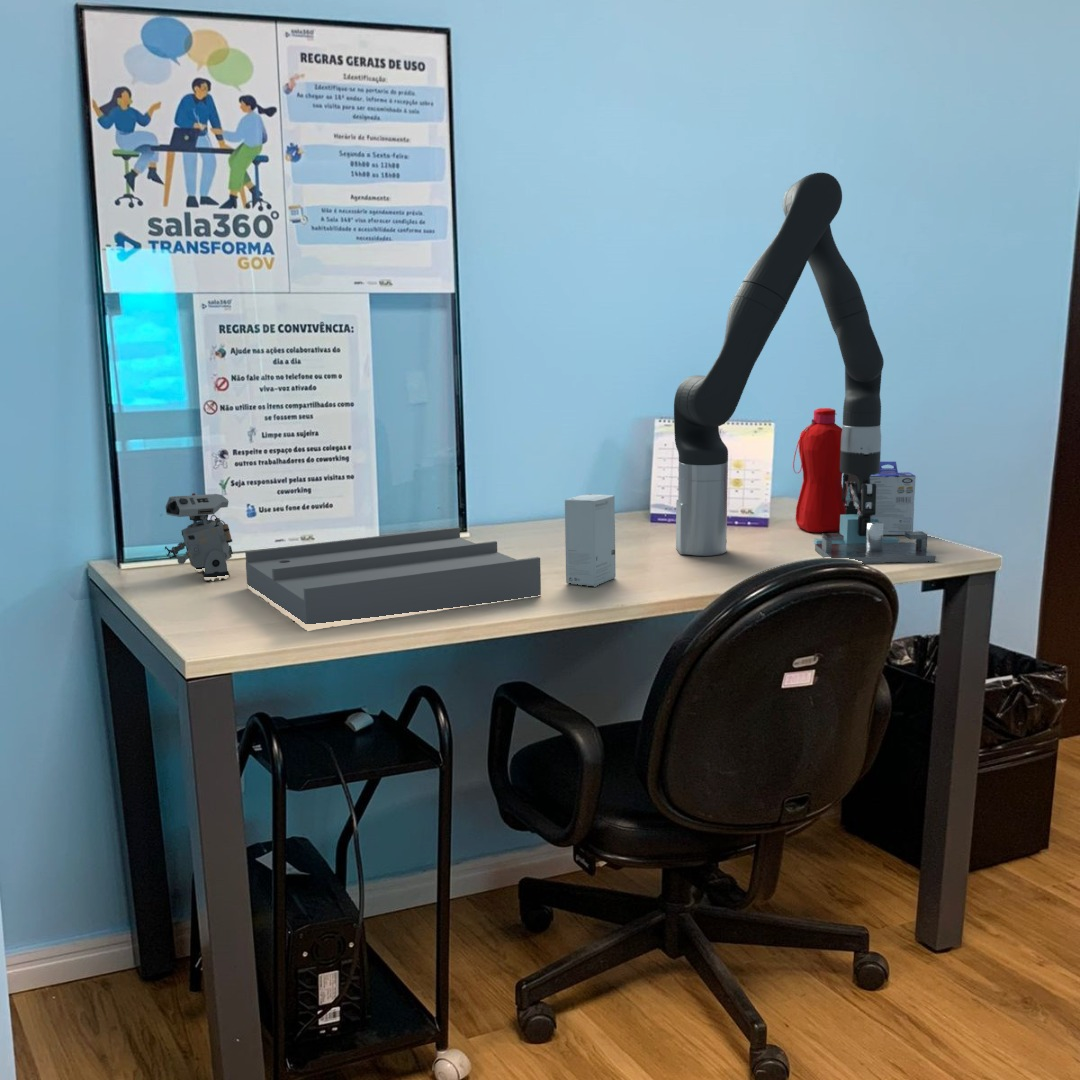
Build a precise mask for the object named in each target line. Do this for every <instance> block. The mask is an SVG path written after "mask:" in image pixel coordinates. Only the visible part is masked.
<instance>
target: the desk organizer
mask: <svg viewBox="0 0 1080 1080" xmlns="http://www.w3.org/2000/svg"><path fill="white" fill-rule="evenodd" d="M245 570H246V571H245V572H246V585H247V584H248V585H249V586H251V587H252V588H254V589H255V590H257V591H259V592H260V593H261V594H263V595H265V596H266V597H267V598H269V599H270V600H272V601H273V602H274V603H276V604H278V605H279V606H281V607H282V608H284V609H285V610H287V611H288V612H290V613H291V614H292V615H294V616H295V617H297V618H298V619H300V620H301V621H302V622H304V623H305V624H316V623H326V622H334V621H341V620H352V619H361V618H370V617H379V616H386V615H394V614H402V613H409V612H419V611H427V610H437V609H443V608H453V607H460V606H469V605H476V604H482V603H491V602H497V601H504V600H511V599H518V598H524V597H531V596H538V595H541V596H542V590H541V589H542V588H541V586H542V583H541V581H542V579H541V572H542V571H541V570H542V569H541V557H540V556H536V557H528V558H527V557H526V558H521V559H520V558H519V559H518V558H517V559H516V558H514V557H511V556H508V555H506V554H503V553H501V552H499V551H498V541H496V540H492V541H484V542H477V543H475V542H472V541H471V540H467V539H465V538H462V537H461V528H460V527H459V526H456V527H446V528H437V529H429V530H421V531H420V530H419V531H409V532H402V533H394V534H386V535H385V534H384V535H377V536H366V537H359V538H350V539H343V540H342V539H341V540H334V541H333V540H332V541H325V542H324V541H323V542H317V543H314V542H313V543H307V544H306V543H305V544H298V545H288V546H279V547H272V548H263V549H256V550H255V549H254V550H246V551H245Z"/></svg>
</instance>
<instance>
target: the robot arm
mask: <svg viewBox="0 0 1080 1080" xmlns="http://www.w3.org/2000/svg"><path fill="white" fill-rule="evenodd" d="M842 201H843V191H842V187H841V184H840V183H839V181H838V180H837V178H836V177H835V176H834V175H832V174H830V173H827V172H815V173H811V174H807V175H806V176H804V177H802V178H801V179H799V180H797V181H796V182H794V183H793V184H792V185H791V186H790V187H788V189H786V192H785V193H784V196H783V199H782V211H783V214H784V216H785V218H784V220H783V222H782V224H781V226H780V228H779V230H778V232H777V233H776V235H775V237H774V238H773V240H772V241H771V242H770V243H769V245H767V247H766V248H765V249H764V251H763V252H762V253H761V255H760V256H759V257H758V258H757V259H756V261H755V262H754V264H753V265H752V267H750V269H749V270H748V272H747V274H746V275H745V277H744V279H742V282H741V284H740V285H739V287H738V289H737V292H736V293H735V295H734V297H733V299H732V301H731V304H730V306H729V309H728V313H727V317H726V325H725V333H724V340H723V343H722V347H721V349H720V351H719V354H718V356H717V358H716V359H715V361H714V362H713V365H712V366H711V368H710V369H709V371H708V373H707V374H706V375H698V374H697V375H692V376H688V377H687V378H685V379H684V380H682V381H681V382H680V384H679V385H678V387H677V389H676V390H675V395H674V402H673V423H674V425H673V426H674V442H675V443H674V444H675V448H676V450H677V452H678V453H677V455H678V484H677V485H678V487H677V488H678V491H677V492H678V493H677V494H678V496H677V497H678V498H677V499H676V503H675V504H676V506H675V509H676V510H675V512H676V513H675V516H676V517H675V549H676V550H677V552H678V553H679V554H680V555H690V556H703V557H704V556H705V557H706V556H707V557H708V556H719V555H722V554H725V553H726V552H727V544H728V543H727V541H728V540H727V537H728V535H727V533H728V530H727V529H728V527H727V525H728V484H729V483H728V482H729V481H728V476H729V475H728V472H729V471H728V470H729V449H728V447H727V446H726V444H725V443H724V441H723V440H722V438H721V434H720V431H719V430H720V428H719V427H720V426H723V425H725V423H727V422H728V421H729V420H730V418H731V417H732V416H733V415H734V413H735V411H736V409H737V407H738V405H739V403H740V400H741V398H742V396H743V393H744V390H745V388H746V385H747V383H748V380H749V378H750V375H751V373H752V371H753V370H754V369H753V368H754V366H755V365H756V362H757V361H758V358H759V357H760V355H761V354H762V351H763V350H764V348H765V345H766V344H767V342H768V339H769V338H770V336H771V334H772V331H774V328H775V327H776V325H777V324H778V322H779V320H780V318H781V316H782V314H783V313H784V310H785V309H786V307H787V305H788V303H789V301H790V299H791V296H792V294H793V292H794V290H795V288H796V286H797V284H798V282H799V280H800V278H801V276H802V274H803V272H804V269H805V267H806V265H807V262H808V264H809V266H810V270H811V272H812V274H813V276H814V279H815V281H816V284H817V286H818V289H819V292H820V295H821V298H822V301H823V304H824V307H825V309H826V313H827V316H828V319H829V322H830V325H831V327H832V330H833V332H834V334H835V336H836V339H837V342H838V347H839V350H840V353H841V354H840V355H841V357H842V358H841V359H842V362H843V364H844V389H845V392H844V393H845V394H844V395H845V396H844V400H843V408H842V409H843V412H842V427H841V428H842V433H841V448H840V472H841V473H842V488H843V489H842V503H844V507H845V508H846V513H845V515H847V514H858V516H859V517H858V535H859V536H866V529H867V523H868V522H870V520H871V517H872V515H875V513H876V484H871V483H870V476H871V475H875V474H878V473H879V472H880V462H881V454H882V452H881V451H882V431H881V424H882V423H881V421H882V403H881V387H882V386H881V385H882V374H883V368H884V363H885V362H884V357H883V354H882V351H881V349H880V346H879V343H878V340H877V338H876V336H875V332H874V331H873V328H872V326H871V321H870V316H869V313H868V312H869V311H868V309H867V306H866V302H865V299H864V296H863V293H862V291H861V290H862V289H861V288H860V287H861V286H860V284H859V283H858V281H857V279H856V277H855V275H854V274H853V271H852V270H851V268H850V267H849V265H848V264H847V263H846V261H845V260H844V258H843V256H842V254H841V253H840V251H839V249H838V247H837V244H836V241H835V239H834V235H833V233H832V227H831V223H832V222H833V221H834V218H836V216H837V214H838V213H839V211H840V209H841V206H842V203H843V202H842ZM865 506H866V507H867V509H865Z"/></svg>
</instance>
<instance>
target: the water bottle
mask: <svg viewBox="0 0 1080 1080" xmlns="http://www.w3.org/2000/svg"><path fill="white" fill-rule="evenodd" d="M841 433H842V427H841V426H840V425H838V424H836V409H833V408H832V407H831V408H830V407H829V408H828V407H825V408H824V407H821V408H820V407H819V408H817V409H814V410H813V419H811V424H809V425H808V426H806V427H805V428H804V429H803V430H802V431H801V433H800V435H799V439H798V441H797V445H796V448H795V451H794V456H793V461H792V468H793V469H792V470H793V472H794V473H795V474H800V473H801V472H802V483H801V484H802V485H801V488H800V492H799V496H798V499H797V503H796V508H795V522H796V525H797V527H798V528H800V529H802V530H804V531H806V532H808V533H816V534H817V533H818V534H820V533H821V534H822V533H840V515H845V513H846V508H845V507H844V503H842V489H843V473H841V472H840V448H841ZM797 450H798V453H799V458H800V464H801V465H800V470H799V471H798V472H796V471H795V458H796V454H797Z"/></svg>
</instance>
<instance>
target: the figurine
mask: <svg viewBox="0 0 1080 1080" xmlns="http://www.w3.org/2000/svg"><path fill="white" fill-rule="evenodd" d="M228 507H229V499H228V498H226V497H225V496H224V495H222V494H217V493H209V494H207V493H206V494H196V493H194V492H193V493H191V495H177V496H169V497H168V499H167V502H166V504H165V507H164V509H165V512H166V515H168V516H171V517H177V518H183V517H184V518H185V517H188V518H189V520H190V521H193V522H192V523H190V524H189V525H187V527H185V528H183V529H182V530H181V536H182V538H183V542H178V544H177V546H172V547H171V549H169V548H168V547H167V546H165V547H164V550H166V551H167V552H168V553H165V554H166V556H167V557H169V558H168V559H174V558H175V559H177V563H178V564H179V565H183V564H185V563H186V562H187V560H189V563H190V565H191V567H193V568H194V569H195V568H196V569H202V568H205V572H203V577H217V576H225V575H229V576H230V574H229V571H228V565H227V561H228V560H229V559H231V558H232V557H233V556H232V555H233V554H234V551H233V549H232V545H229V543H233V538H232V536H231V531H230V527H229V524H228V523H226V522H225V521H224V520H221V519H220V517H218V516H217V515H215V514H216V513H217V512H218V511H219V510H220V509H221V508H228ZM209 515H211V516H210V519H208V518H209ZM213 517H215V518H214V519H213ZM185 548H186V552H185V554H183V555H182V556H179V555H178V554H179V552H180V551H182V550H184V549H185ZM171 554H172V556H171Z"/></svg>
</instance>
